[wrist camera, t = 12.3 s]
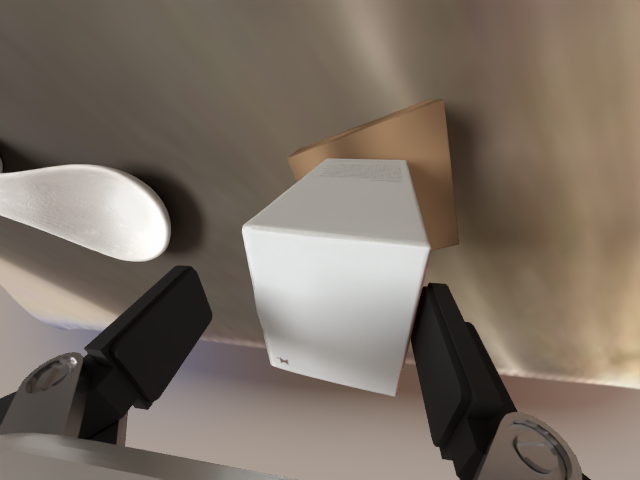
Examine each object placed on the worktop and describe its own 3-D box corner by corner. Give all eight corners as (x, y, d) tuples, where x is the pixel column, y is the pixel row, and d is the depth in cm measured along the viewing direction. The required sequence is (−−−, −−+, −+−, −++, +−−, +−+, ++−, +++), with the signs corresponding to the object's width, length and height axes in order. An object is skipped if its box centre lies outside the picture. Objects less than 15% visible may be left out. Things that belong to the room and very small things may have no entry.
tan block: (424, 100, 20) (443, 99, 16) (441, 220, 26) (459, 244, 21) (299, 148, 24) (287, 158, 19) (336, 246, 29) (333, 271, 25)
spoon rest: (188, 179, 27) (138, 202, 21) (184, 258, 33) (144, 293, 26) (-26, 100, 25) (-149, 98, 19) (11, 197, 31) (-73, 220, 25)
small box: (395, 250, 21) (397, 402, 10) (327, 242, 23) (267, 368, 12) (409, 156, 17) (436, 245, 6) (325, 155, 19) (233, 225, 8)
